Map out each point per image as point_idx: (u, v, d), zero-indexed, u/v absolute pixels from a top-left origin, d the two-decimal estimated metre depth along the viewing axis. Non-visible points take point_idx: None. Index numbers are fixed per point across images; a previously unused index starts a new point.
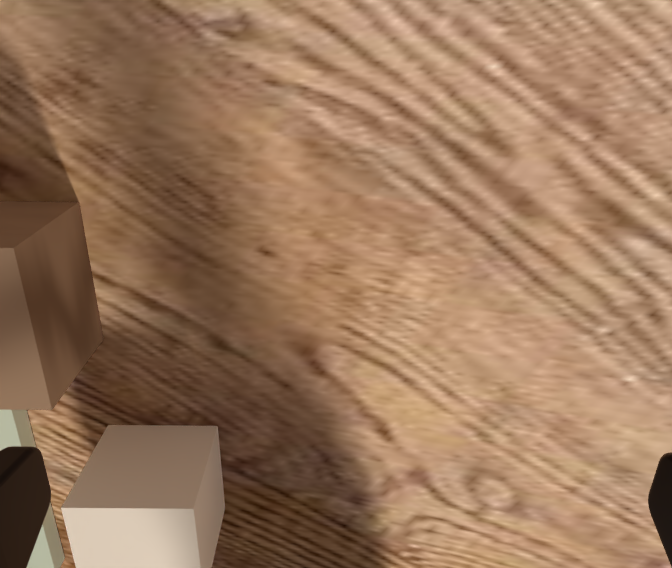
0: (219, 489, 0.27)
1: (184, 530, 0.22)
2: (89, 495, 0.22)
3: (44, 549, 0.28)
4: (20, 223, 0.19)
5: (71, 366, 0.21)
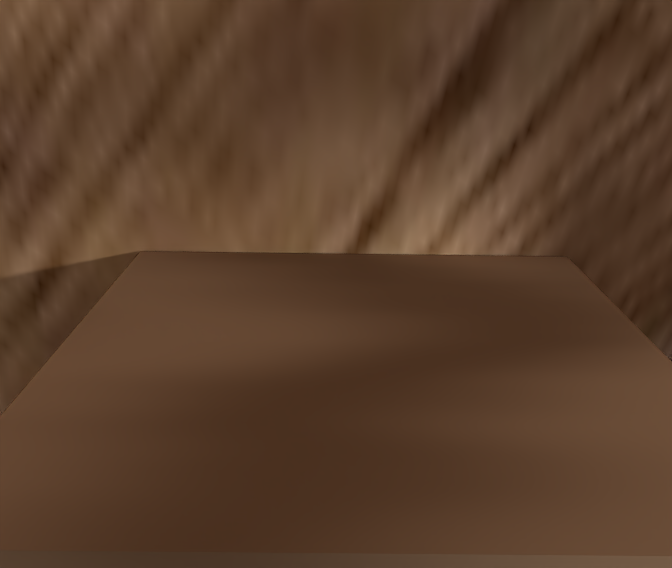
0: None
1: None
2: None
3: None
4: None
5: (631, 385, 0.05)
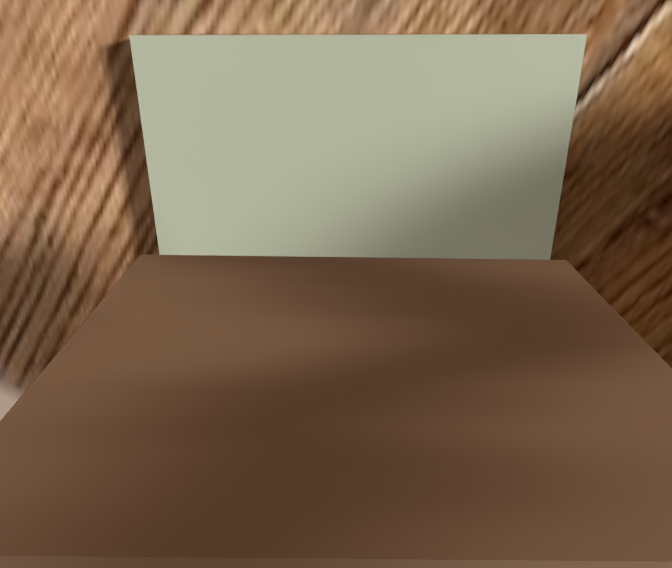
0: None
1: None
2: None
3: (518, 44, 0.15)
4: None
5: (630, 389, 0.05)
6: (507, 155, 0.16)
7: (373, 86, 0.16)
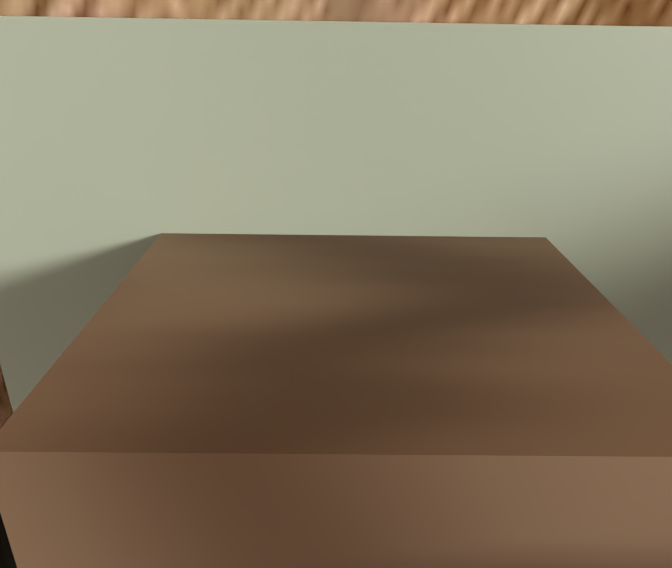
0: None
1: None
2: None
3: (665, 46, 0.08)
4: None
5: (591, 337, 0.06)
6: (623, 245, 0.09)
7: (384, 121, 0.08)
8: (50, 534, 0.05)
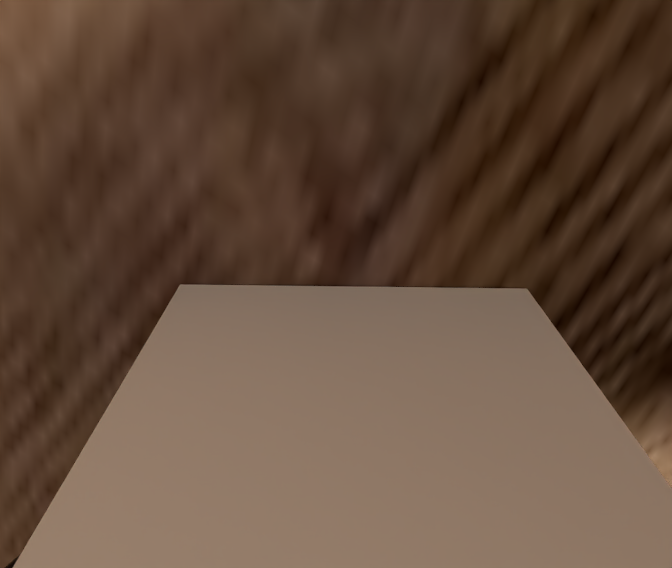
0: (401, 313, 0.08)
1: None
2: None
3: None
4: None
5: None
6: None
7: None
8: None
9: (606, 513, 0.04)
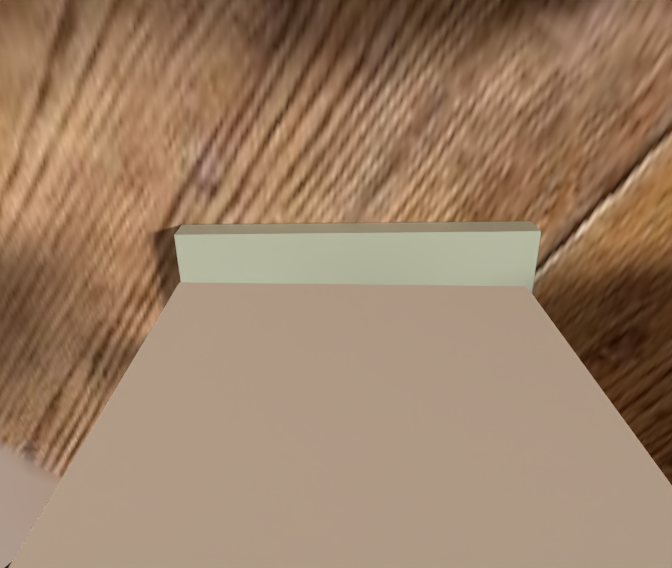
0: (400, 311, 0.08)
1: None
2: None
3: (485, 238, 0.19)
4: None
5: None
6: None
7: (369, 269, 0.19)
8: None
9: (606, 510, 0.04)
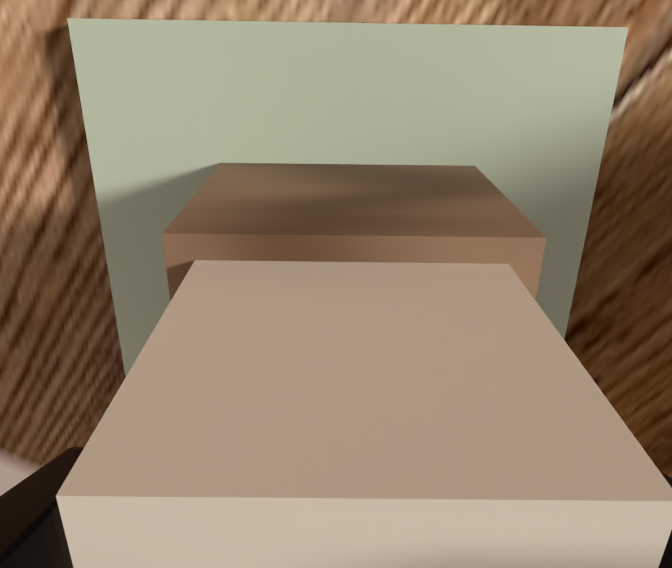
0: (394, 284, 0.08)
1: (202, 539, 0.05)
2: None
3: (544, 38, 0.12)
4: None
5: (482, 203, 0.11)
6: (527, 171, 0.14)
7: (367, 87, 0.13)
8: None
9: (562, 433, 0.05)
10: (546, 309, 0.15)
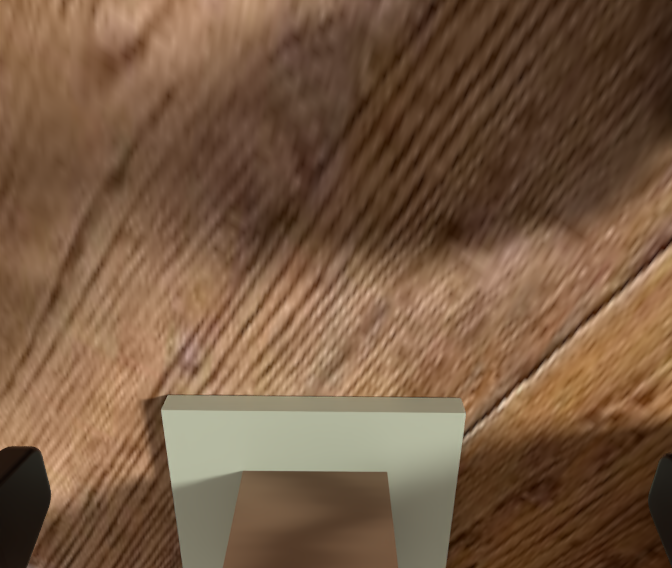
0: None
1: None
2: None
3: (420, 417, 0.23)
4: None
5: (378, 533, 0.21)
6: (417, 474, 0.24)
7: (324, 438, 0.23)
8: None
9: None
10: (435, 538, 0.25)
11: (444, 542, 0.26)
